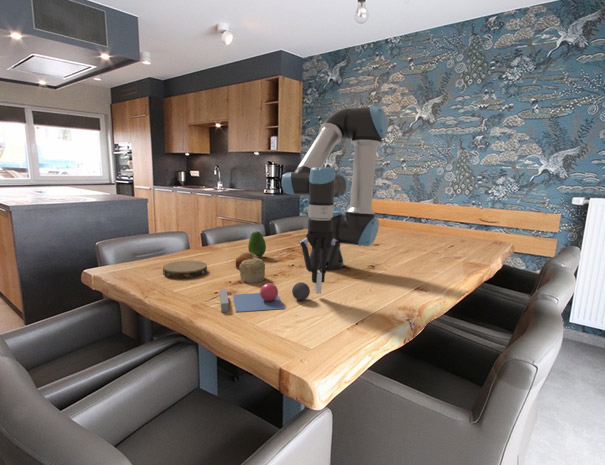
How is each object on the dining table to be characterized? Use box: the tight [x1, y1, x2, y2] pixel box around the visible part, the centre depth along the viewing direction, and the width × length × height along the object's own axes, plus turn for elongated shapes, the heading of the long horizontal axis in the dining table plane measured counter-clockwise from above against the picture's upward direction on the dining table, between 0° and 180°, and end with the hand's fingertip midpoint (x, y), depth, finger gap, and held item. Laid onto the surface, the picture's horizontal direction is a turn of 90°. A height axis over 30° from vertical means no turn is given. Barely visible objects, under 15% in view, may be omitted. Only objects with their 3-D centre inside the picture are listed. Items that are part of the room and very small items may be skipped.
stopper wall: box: [219, 288, 230, 313], centre depth 105 cm, size 2×12×2 cm, turn 15°
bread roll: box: [234, 251, 259, 270], centre depth 145 cm, size 10×10×8 cm
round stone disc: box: [162, 260, 208, 280], centre depth 135 cm, size 16×16×3 cm
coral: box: [238, 257, 266, 284], centre depth 129 cm, size 9×9×8 cm
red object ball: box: [259, 282, 279, 302], centre depth 108 cm, size 6×6×6 cm
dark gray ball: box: [292, 282, 311, 301], centre depth 110 cm, size 6×6×6 cm
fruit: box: [247, 230, 267, 258], centre depth 160 cm, size 8×8×12 cm
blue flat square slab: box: [232, 292, 286, 313], centre depth 107 cm, size 14×14×1 cm
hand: (317, 292), depth 112 cm, fingers closed
